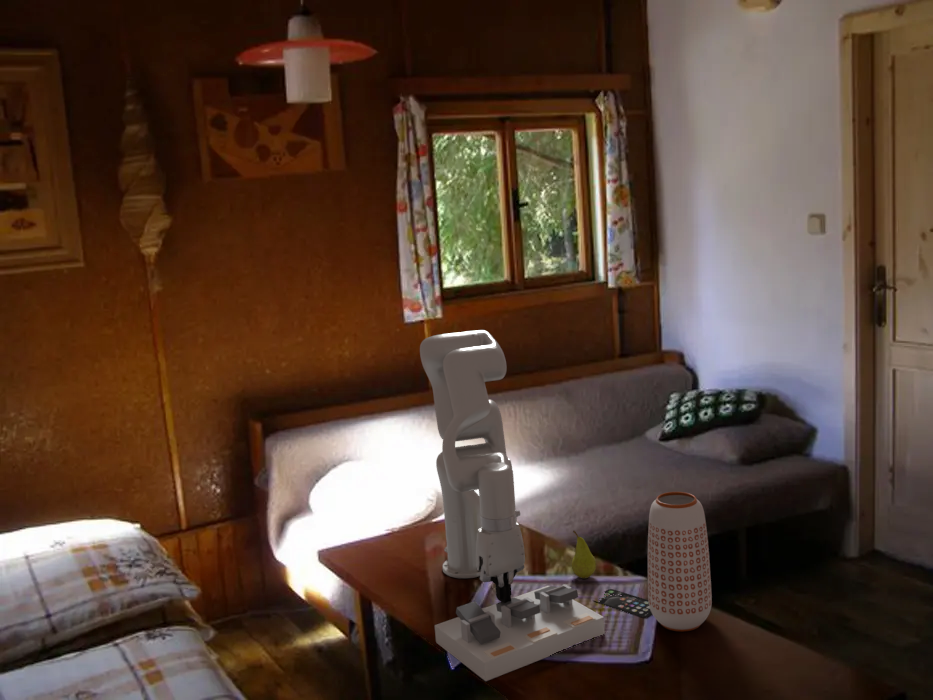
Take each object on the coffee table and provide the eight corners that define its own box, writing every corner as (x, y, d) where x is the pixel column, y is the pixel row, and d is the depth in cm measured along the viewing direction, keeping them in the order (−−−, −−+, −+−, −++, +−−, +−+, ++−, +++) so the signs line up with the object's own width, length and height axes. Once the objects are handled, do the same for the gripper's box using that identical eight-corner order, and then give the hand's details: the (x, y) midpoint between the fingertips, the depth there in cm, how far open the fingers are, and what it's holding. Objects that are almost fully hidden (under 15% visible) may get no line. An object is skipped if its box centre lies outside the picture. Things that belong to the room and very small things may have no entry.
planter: (713, 637, 205) (710, 509, 200) (648, 636, 208) (643, 509, 202) (711, 608, 218) (707, 487, 212) (649, 607, 221) (644, 487, 215)
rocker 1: (455, 613, 208) (456, 605, 207) (474, 606, 210) (475, 599, 209) (480, 644, 200) (481, 636, 199) (499, 637, 203) (500, 629, 202)
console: (436, 642, 212) (433, 608, 211) (549, 601, 227) (547, 569, 225) (485, 681, 195) (482, 644, 194) (604, 634, 210) (602, 599, 208)
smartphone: (610, 588, 231) (664, 604, 221) (610, 590, 231) (664, 607, 221) (590, 599, 226) (645, 617, 215) (590, 602, 226) (645, 620, 216)
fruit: (600, 579, 237) (598, 532, 234) (579, 584, 234) (576, 537, 232) (589, 570, 242) (586, 524, 239) (568, 575, 240) (565, 529, 237)
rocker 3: (535, 599, 218) (533, 589, 218) (552, 593, 220) (550, 583, 220) (561, 603, 209) (559, 593, 209) (578, 597, 211) (576, 587, 211)
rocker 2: (497, 611, 213) (495, 601, 213) (514, 604, 215) (513, 595, 215) (522, 619, 204) (520, 609, 204) (540, 612, 207) (538, 602, 206)
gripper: (518, 507, 217) (523, 584, 221) (459, 524, 210) (465, 604, 214) (537, 517, 211) (542, 596, 215) (478, 535, 203) (484, 617, 207)
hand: (504, 600), depth 214 cm, fingers closed
